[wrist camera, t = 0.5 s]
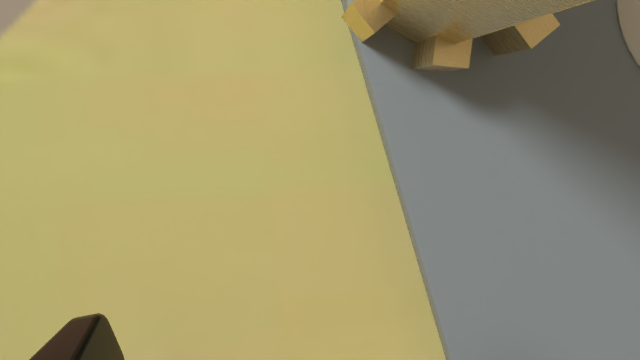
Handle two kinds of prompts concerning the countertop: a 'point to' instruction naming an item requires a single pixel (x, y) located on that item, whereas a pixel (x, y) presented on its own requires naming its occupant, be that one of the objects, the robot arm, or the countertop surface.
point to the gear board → (522, 186)
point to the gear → (457, 26)
